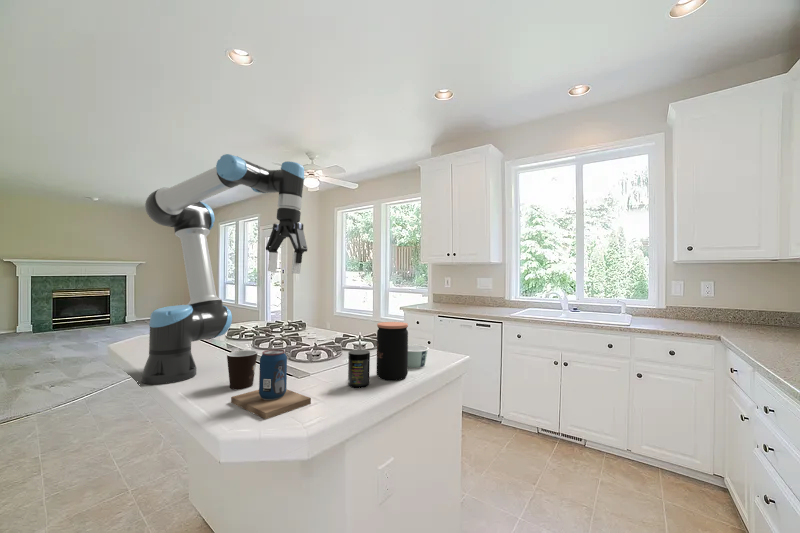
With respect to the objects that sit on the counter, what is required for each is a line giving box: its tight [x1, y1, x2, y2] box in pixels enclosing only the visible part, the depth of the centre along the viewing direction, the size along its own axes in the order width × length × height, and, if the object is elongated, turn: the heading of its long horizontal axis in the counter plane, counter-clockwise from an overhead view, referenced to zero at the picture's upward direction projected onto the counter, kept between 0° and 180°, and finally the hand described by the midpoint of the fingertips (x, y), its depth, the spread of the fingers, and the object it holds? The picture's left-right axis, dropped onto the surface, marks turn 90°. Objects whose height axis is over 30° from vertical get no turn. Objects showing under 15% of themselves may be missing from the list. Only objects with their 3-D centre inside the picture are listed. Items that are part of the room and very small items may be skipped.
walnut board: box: [230, 388, 312, 420], centre depth 91 cm, size 17×13×2 cm
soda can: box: [258, 349, 288, 400], centre depth 92 cm, size 7×7×12 cm
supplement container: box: [347, 349, 371, 390], centre depth 106 cm, size 7×7×10 cm
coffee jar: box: [376, 321, 409, 382], centre depth 116 cm, size 11×11×18 cm
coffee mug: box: [226, 349, 258, 390], centre depth 106 cm, size 12×9×10 cm
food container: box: [408, 344, 430, 369], centre depth 133 cm, size 12×12×6 cm
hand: (283, 272), depth 113 cm, fingers open, 13 cm apart
